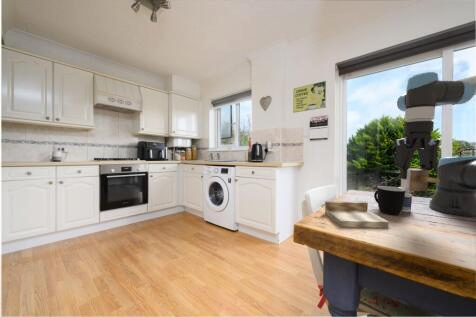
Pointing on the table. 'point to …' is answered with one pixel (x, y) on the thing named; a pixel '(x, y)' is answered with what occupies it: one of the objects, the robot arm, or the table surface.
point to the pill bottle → (407, 201)
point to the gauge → (420, 179)
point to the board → (353, 214)
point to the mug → (390, 199)
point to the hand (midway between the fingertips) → (413, 188)
